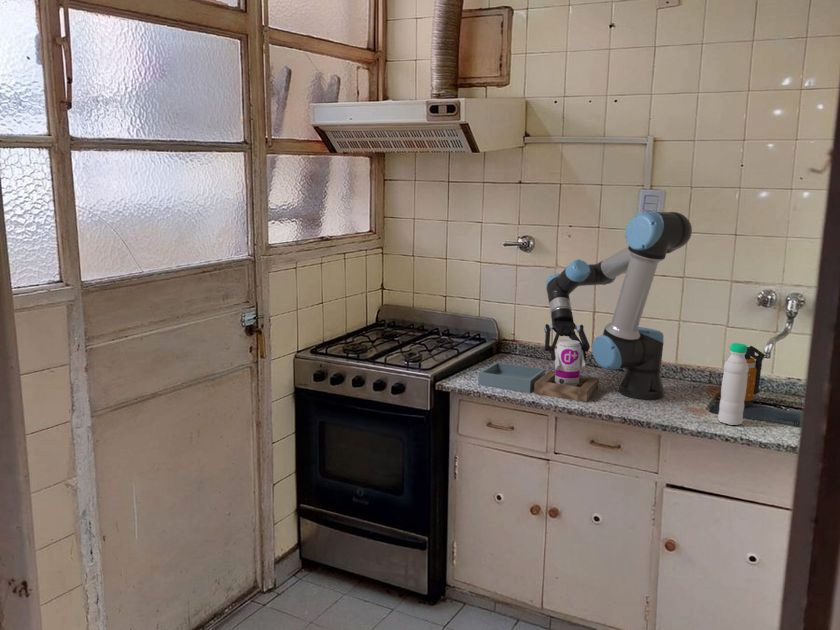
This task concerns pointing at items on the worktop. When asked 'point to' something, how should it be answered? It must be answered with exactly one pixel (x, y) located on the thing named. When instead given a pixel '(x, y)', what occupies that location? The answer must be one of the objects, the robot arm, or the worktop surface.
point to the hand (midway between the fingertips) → (570, 367)
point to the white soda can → (568, 362)
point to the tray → (510, 377)
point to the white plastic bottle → (734, 386)
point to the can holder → (567, 388)
